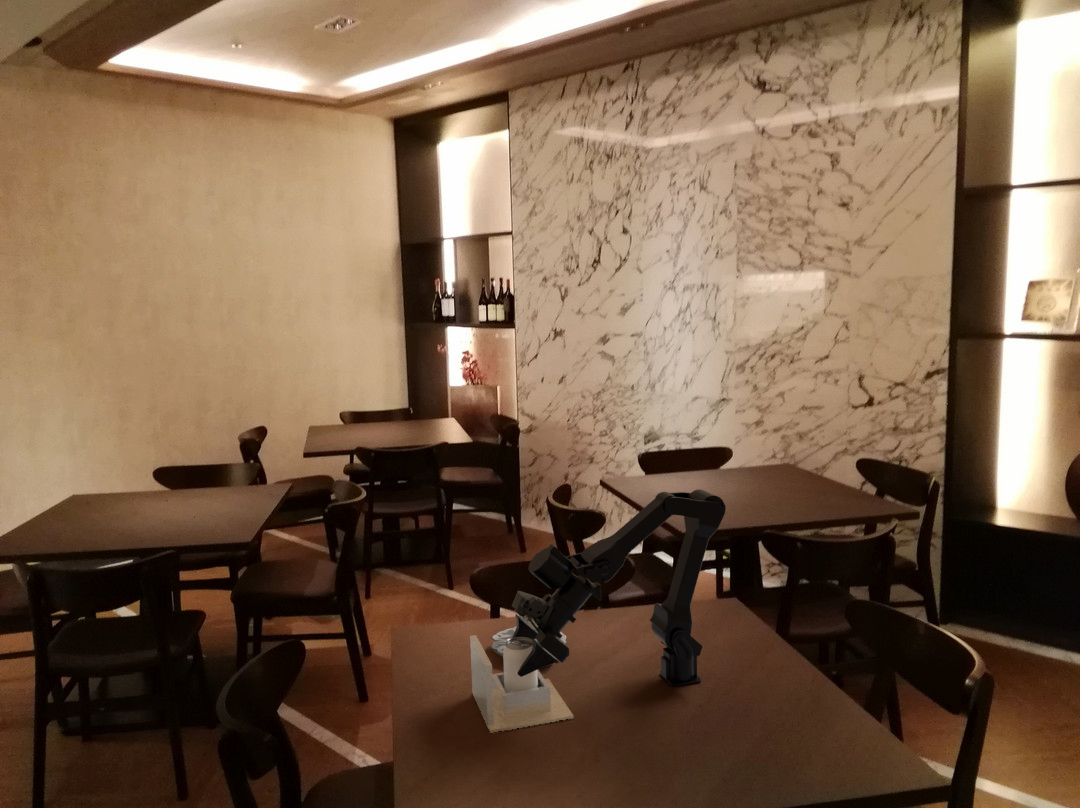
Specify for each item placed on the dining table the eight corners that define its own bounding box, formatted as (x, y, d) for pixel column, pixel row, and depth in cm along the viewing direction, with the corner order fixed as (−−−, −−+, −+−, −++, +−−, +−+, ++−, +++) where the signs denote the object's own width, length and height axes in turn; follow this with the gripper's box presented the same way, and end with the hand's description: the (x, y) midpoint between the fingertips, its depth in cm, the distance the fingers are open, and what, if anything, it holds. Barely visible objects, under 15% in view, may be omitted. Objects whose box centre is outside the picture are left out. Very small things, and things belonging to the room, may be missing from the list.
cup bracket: (548, 681, 165) (546, 622, 164) (573, 718, 150) (571, 654, 148) (471, 693, 161) (469, 634, 159) (489, 733, 145) (486, 668, 144)
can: (520, 713, 151) (518, 653, 150) (498, 702, 156) (495, 643, 154) (545, 701, 155) (543, 642, 154) (522, 690, 160) (520, 633, 159)
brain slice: (495, 635, 190) (494, 623, 189) (567, 634, 189) (566, 622, 188) (486, 673, 170) (486, 660, 170) (566, 672, 169) (565, 659, 169)
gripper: (523, 563, 162) (472, 622, 161) (551, 593, 144) (493, 661, 143) (561, 595, 165) (512, 654, 164) (593, 629, 148) (537, 695, 146)
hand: (512, 664), depth 154 cm, fingers open, 9 cm apart
